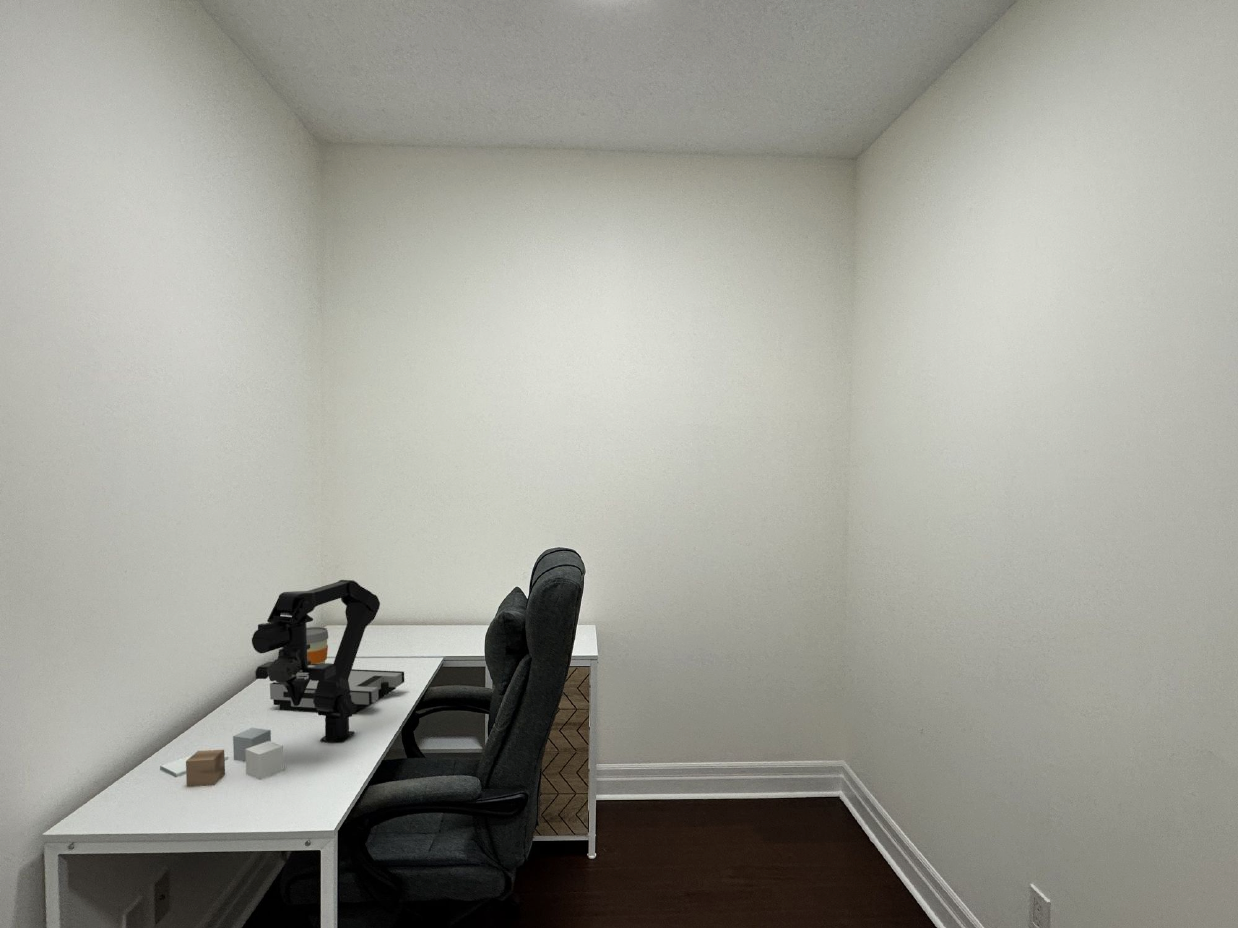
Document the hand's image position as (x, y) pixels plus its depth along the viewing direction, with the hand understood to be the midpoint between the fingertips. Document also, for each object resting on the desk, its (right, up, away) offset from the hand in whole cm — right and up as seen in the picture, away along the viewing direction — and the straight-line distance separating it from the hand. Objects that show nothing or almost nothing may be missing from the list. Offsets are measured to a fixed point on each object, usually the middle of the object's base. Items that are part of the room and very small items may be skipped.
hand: (296, 705), depth 191 cm
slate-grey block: (-12, -13, +2) cm, 18 cm away
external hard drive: (-24, -14, -2) cm, 28 cm away
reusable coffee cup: (-25, -12, +70) cm, 75 cm away
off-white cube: (-4, -14, -8) cm, 16 cm away
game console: (-5, -13, +42) cm, 44 cm away
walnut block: (-16, -14, -12) cm, 24 cm away
